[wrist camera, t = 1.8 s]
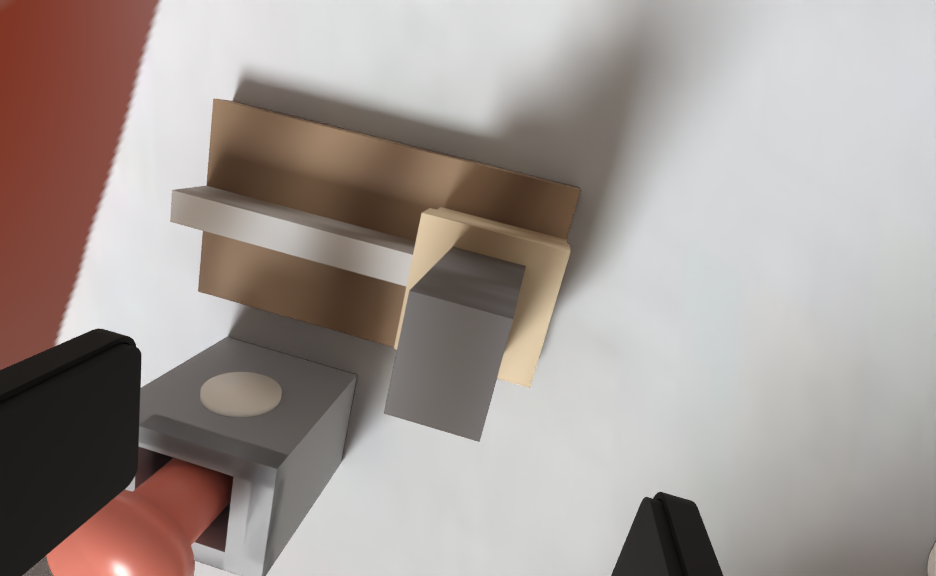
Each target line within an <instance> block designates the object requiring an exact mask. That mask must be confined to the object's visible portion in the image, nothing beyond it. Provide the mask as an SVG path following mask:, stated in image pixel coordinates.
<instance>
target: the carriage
mask: <svg viewBox="0 0 936 576" xmlns="http://www.w3.org/2000/svg"><path fill="white" fill-rule="evenodd" d="M570 252H571V250H570V244H567V240H566V239H562V238H558V237H554V236H551V235H547V234H543V233H539V232H535V231H531V230H527V229H524V228H520V227H516V226H512V225H508V224H504V223H500V222H497V221H493V220H489V219H485V218H481V217H477V216H473V215H470V214H466V213H462V212H458V211H454V210H450V209H446V208H443V207H440V208H438V209H437V210H436V209H432V208H430V209H428V210H426V211H424V212H422V214H421V218H420V223H419V228H418V233H417V238H416V243H415V248H414V253H413V257H412V262H411V267H410V272H409V277H408V282H407V287H406V292H405V296H404V301H403V306H402V311H401V316H400V321H399V326H398V330H397V335H396V340H395V345H394V349H396V350H397V352H396V357H395V362H394V367H393V372H392V376H391V381H390V386H389V391H388V396H387V400H386V405H385V410H384V414H388V415H391V416H395V417H398V418H401V419H405V420H408V421H411V422H415V423H418V424H421V425H425V426H428V427H431V428H435V429H438V430H442V431H445V432H448V433H452V434H455V435H458V436H462V437H465V438H468V439H472V440H475V441H478V442H480V438H481V434H482V431H483V427H484V423H485V420H486V416H487V412H488V409H489V405H490V402H491V398H492V394H493V391H494V387H495V383H496V380H497V379H501V380H504V381H508V382H511V383H515V384H518V385H522V386H525V387H529V388H530V386H531V383H532V380H533V376H534V373H535V370H536V366H537V363H538V359H539V356H540V353H541V349H542V346H543V343H544V339H545V336H546V333H547V329H548V326H549V323H550V319H551V316H552V313H553V309H554V306H555V302H556V299H557V296H558V292H559V289H560V286H561V282H562V279H563V276H564V272H565V269H566V266H567V262H568V259H569V256H570Z"/></svg>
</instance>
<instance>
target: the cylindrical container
mask: <svg viewBox="0 0 936 576" xmlns="http://www.w3.org/2000/svg"><path fill="white" fill-rule="evenodd" d="M927 569H928V576H936V543H935V545H934V547H933V549H932V551H931V553H930V555H929V560H928V565H927Z"/></svg>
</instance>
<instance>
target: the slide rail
mask: <svg viewBox="0 0 936 576" xmlns="http://www.w3.org/2000/svg"><path fill="white" fill-rule="evenodd" d="M580 191H581V190H580V188H579V187H575V186H571V185H567V184H563V183H559V182H555V181H551V180H547V179H543V178H539V177H535V176H531V175H527V174H523V173H519V172H515V171H511V170H507V169H503V168H499V167H495V166H491V165H487V164H483V163H479V162H475V161H471V160H467V159H463V158H459V157H455V156H451V155H447V154H443V153H439V152H435V151H431V150H427V149H423V148H419V147H415V146H411V145H407V144H403V143H399V142H395V141H391V140H387V139H383V138H379V137H375V136H371V135H367V134H363V133H359V132H355V131H351V130H347V129H343V128H339V127H335V126H331V125H327V124H323V123H319V122H315V121H311V120H307V119H303V118H299V117H295V116H291V115H287V114H283V113H278V112H274V111H270V110H266V109H262V108H258V107H254V106H250V105H246V104H242V103H238V102H234V101H229V100H221V99H213V112H212V124H211V137H210V149H209V162H208V175H207V186H201V187H193V188H185V189H177V190H172V203H171V219H170V222H173V223H177V224H181V225H184V226H188V227H192V228H195V229H199V230H202V231H203V237H202V250H201V263H200V275H199V288H198V291H199V292H202V293H206V294H209V295H213V296H216V297H220V298H223V299H227V300H230V301H234V302H237V303H241V304H244V305H248V306H251V307H255V308H258V309H262V310H265V311H269V312H272V313H276V314H279V315H283V316H286V317H290V318H293V319H297V320H300V321H304V322H307V323H311V324H314V325H318V326H321V327H325V328H328V329H331V330H335V331H338V332H342V333H345V334H349V335H352V336H356V337H359V338H363V339H366V340H370V341H373V342H377V343H380V344H384V345H387V346H391V347H394V345H395V340H396V335H397V330H398V326H399V321H400V316H401V311H402V306H403V301H404V296H405V292H406V287H407V282H408V277H409V272H410V267H411V262H412V257H413V253H414V248H415V243H416V238H417V233H418V228H419V223H420V218H421V214H422V212H424V211H426V210H428V209H430V208H432V209H436V210H437V209H438V208H440V207H443V208H446V209H450V210H454V211H458V212H462V213H466V214H470V215H473V216H477V217H481V218H485V219H489V220H493V221H497V222H500V223H504V224H508V225H512V226H516V227H520V228H524V229H527V230H531V231H535V232H539V233H543V234H547V235H551V236H554V237H558V238H562V239H567V236H568V232H569V229H570V225H571V222H572V219H573V215H574V212H575V208H576V205H577V202H578V198H579V195H580Z"/></svg>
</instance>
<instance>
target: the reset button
mask: <svg viewBox="0 0 936 576" xmlns="http://www.w3.org/2000/svg"><path fill="white" fill-rule="evenodd" d="M232 486H233V476H230V475H227V474H224V473H221V472H218V471H214V470H211V469H208V468H205V467H202V466H199V465H196V464H192V463H189V462H186V461H183V460H180V459H177V458H173V459H171V460H170V461H169V462H168V463H167V464H165V465H164V466H163V467H162V468H161V469H159V470H158V471H157V472H156V473H154V474H153V475H152V476H151V477H150V478H148V479H147V480H146V481H145V482H144V483H142V484H141V485H140V486H139V487H138V488H136V489H135V490H134V491H133V492H132V491H128V490H123V491H122V492H121V493H120V494H119V495H117V496H116V497H115V498H114V499H113V500H111V501H110V502H109V503H108V504H107V505H105V506H104V507H103V508H102V509H101V510H100V511H98V512H97V513H96V514H95V515H94V516H92V517H91V518H90V519H89V520H88V521H86V522H85V523H84V524H83V525H82V526H80V527H79V528H78V529H77V530H76V531H75V532H73V533H72V534H71V535H70V536H69V537H67V538H66V539H65V540H64V541H63V542H61V543H60V544H59V545H58V546H57V547H55V548H54V549H53V550H52V551H51V552H50V553H48V554H47V555H46V557H47V561H48V564H49V567H50V570H51V572H52V574H53V576H194V570H195V561H194V554H193V550H192V547H191V545H192V544H193V543H194V542H195V541H196V540H197V538H198V537H199V536H200V535H201V534H202V533H203V532H204V531H205V530H206V529H207V527H208V526H209V525H210V524H211V523H212V522H213V521H214V520H215V519H216V517H217V516H218V515H219V514H220V513H221V512H222V511H223V510H224V509H225V507H226V506H227V505H228V504H229V503H230V502H231V495H232Z"/></svg>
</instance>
